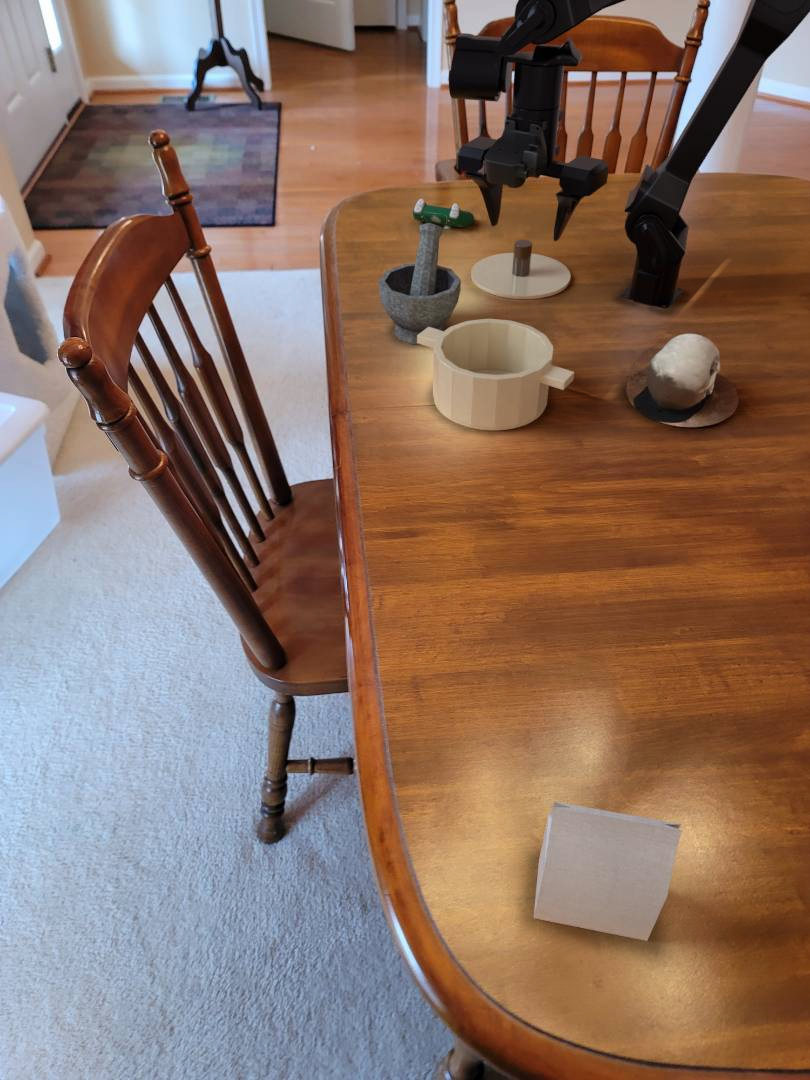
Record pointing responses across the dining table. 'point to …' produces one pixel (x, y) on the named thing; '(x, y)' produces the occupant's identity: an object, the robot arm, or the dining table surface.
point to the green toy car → (442, 215)
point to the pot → (492, 373)
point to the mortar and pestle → (420, 290)
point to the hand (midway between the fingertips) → (524, 232)
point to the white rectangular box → (604, 870)
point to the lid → (520, 274)
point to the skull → (684, 385)
